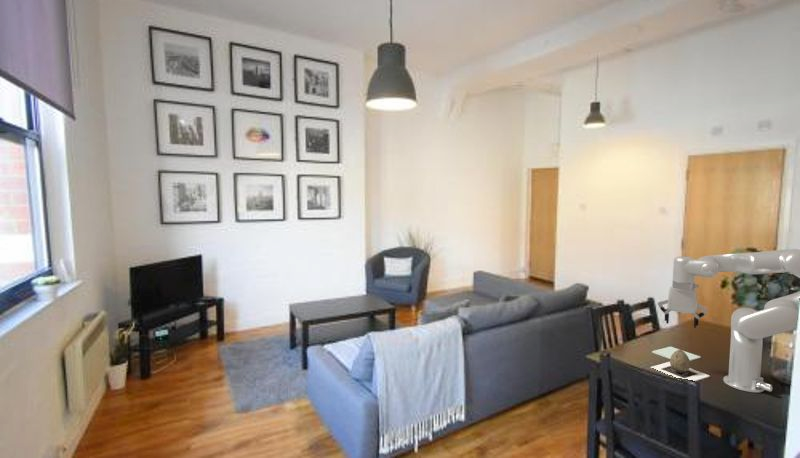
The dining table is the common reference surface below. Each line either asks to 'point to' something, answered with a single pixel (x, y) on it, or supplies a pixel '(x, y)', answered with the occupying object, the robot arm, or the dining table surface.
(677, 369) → the decorative egg
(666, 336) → the dining table surface
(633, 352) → the dining table surface
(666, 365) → the white square frame
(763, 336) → the robot arm
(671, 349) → the sage mat
